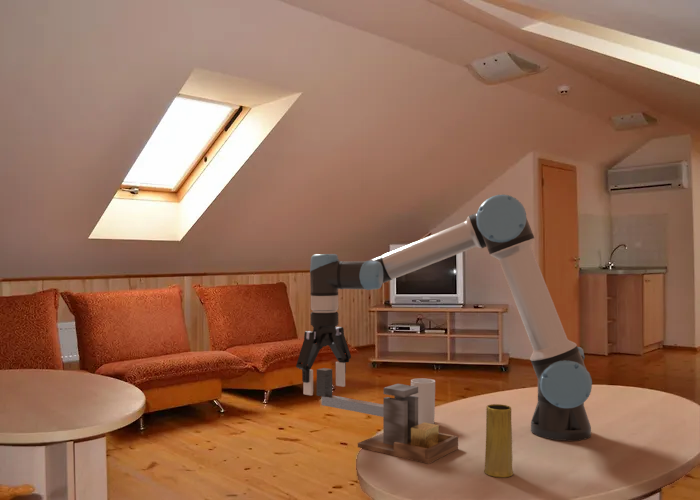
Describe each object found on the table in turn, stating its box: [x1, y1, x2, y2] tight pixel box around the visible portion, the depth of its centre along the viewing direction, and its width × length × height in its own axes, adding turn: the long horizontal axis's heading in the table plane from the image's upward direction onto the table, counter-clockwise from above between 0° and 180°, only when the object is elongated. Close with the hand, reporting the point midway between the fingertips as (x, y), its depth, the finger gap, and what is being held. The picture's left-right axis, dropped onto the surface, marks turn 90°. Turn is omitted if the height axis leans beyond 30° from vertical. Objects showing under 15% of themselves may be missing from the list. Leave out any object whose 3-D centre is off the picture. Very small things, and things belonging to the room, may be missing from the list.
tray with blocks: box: [357, 383, 459, 465], centre depth 155 cm, size 20×14×14 cm
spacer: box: [411, 422, 440, 448], centre depth 152 cm, size 5×6×4 cm
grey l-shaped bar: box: [316, 367, 383, 418], centre depth 164 cm, size 26×3×9 cm, turn 53°
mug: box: [410, 378, 436, 425], centre depth 179 cm, size 10×7×12 cm, turn 161°
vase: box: [484, 403, 514, 479], centre depth 137 cm, size 6×6×14 cm
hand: (324, 390), depth 171 cm, fingers open, 13 cm apart
